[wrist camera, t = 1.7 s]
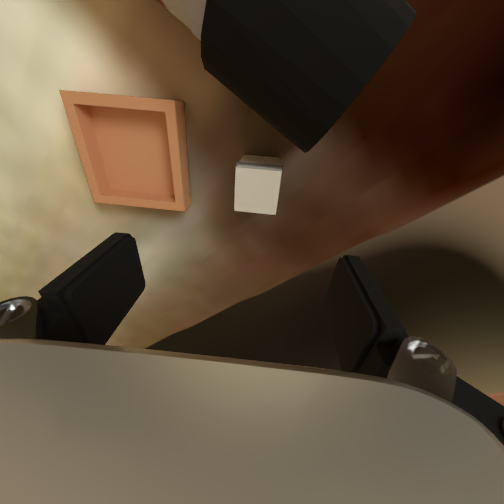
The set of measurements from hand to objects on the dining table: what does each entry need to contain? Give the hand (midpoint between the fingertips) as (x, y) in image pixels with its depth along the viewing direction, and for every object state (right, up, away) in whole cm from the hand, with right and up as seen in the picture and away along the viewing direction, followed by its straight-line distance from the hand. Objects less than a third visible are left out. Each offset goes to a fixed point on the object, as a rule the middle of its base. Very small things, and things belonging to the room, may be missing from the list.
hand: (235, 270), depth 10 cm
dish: (-12, +12, +16) cm, 23 cm away
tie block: (+2, +10, +16) cm, 19 cm away
